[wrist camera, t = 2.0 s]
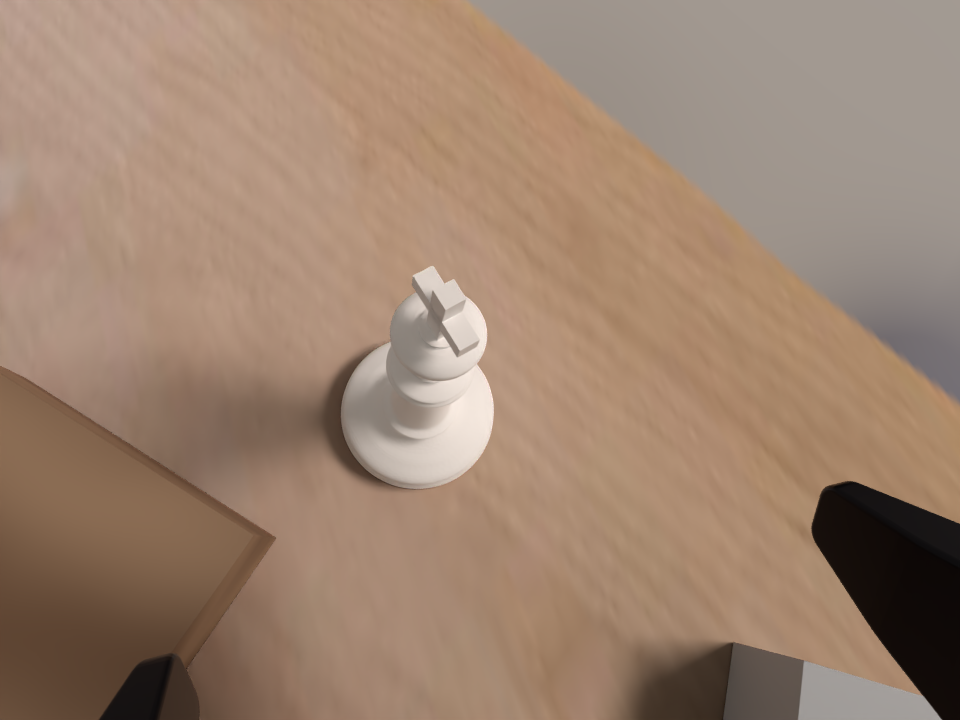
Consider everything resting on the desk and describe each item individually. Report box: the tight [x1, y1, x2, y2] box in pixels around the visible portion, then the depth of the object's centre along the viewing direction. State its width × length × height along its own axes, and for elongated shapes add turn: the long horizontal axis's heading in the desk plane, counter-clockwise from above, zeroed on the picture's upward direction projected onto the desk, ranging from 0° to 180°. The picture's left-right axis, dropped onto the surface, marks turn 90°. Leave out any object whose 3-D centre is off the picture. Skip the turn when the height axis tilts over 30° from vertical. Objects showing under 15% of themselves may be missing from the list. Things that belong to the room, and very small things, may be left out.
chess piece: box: [341, 266, 494, 489], centre depth 16 cm, size 5×5×10 cm
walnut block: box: [0, 366, 276, 720], centre depth 16 cm, size 9×9×4 cm
